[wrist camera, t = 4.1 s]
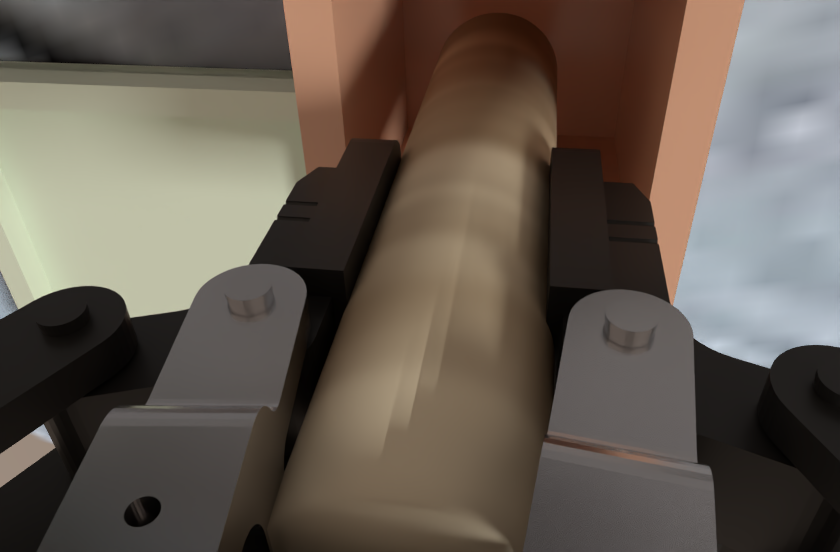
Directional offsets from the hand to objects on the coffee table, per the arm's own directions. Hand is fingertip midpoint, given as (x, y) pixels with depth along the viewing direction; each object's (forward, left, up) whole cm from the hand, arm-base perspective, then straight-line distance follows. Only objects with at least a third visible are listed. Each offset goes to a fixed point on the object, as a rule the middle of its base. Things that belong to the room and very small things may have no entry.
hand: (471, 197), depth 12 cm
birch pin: (0, 0, -5) cm, 5 cm away
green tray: (+9, -10, -8) cm, 16 cm away
